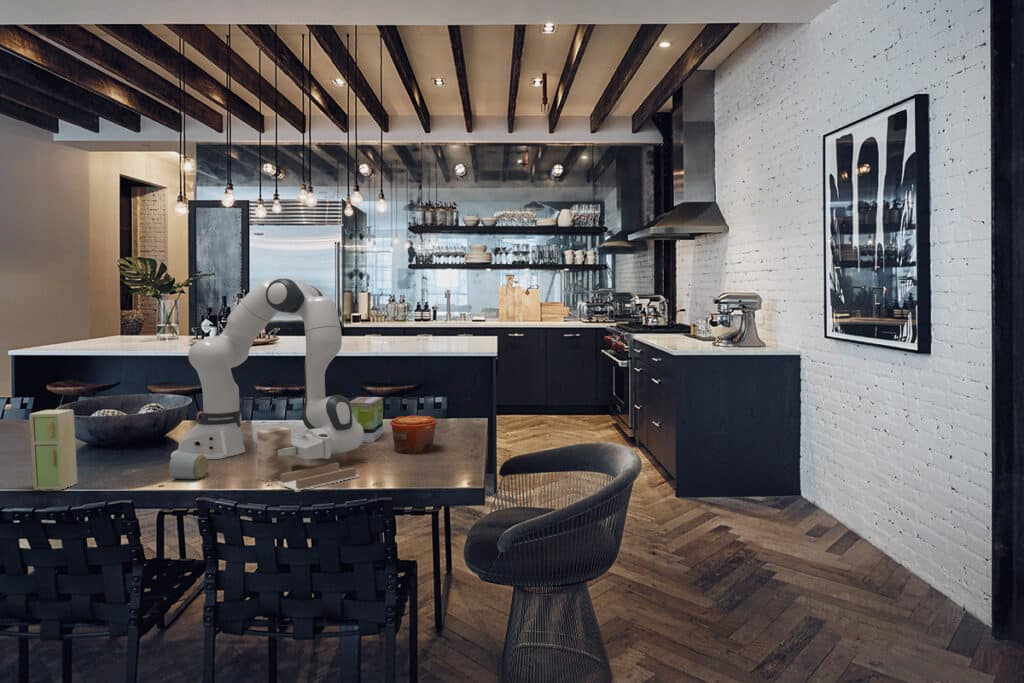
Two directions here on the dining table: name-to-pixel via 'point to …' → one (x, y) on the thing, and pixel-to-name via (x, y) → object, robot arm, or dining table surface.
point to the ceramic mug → (188, 466)
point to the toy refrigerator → (53, 449)
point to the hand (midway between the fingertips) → (271, 450)
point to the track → (316, 476)
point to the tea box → (369, 416)
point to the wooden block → (273, 453)
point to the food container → (413, 434)
